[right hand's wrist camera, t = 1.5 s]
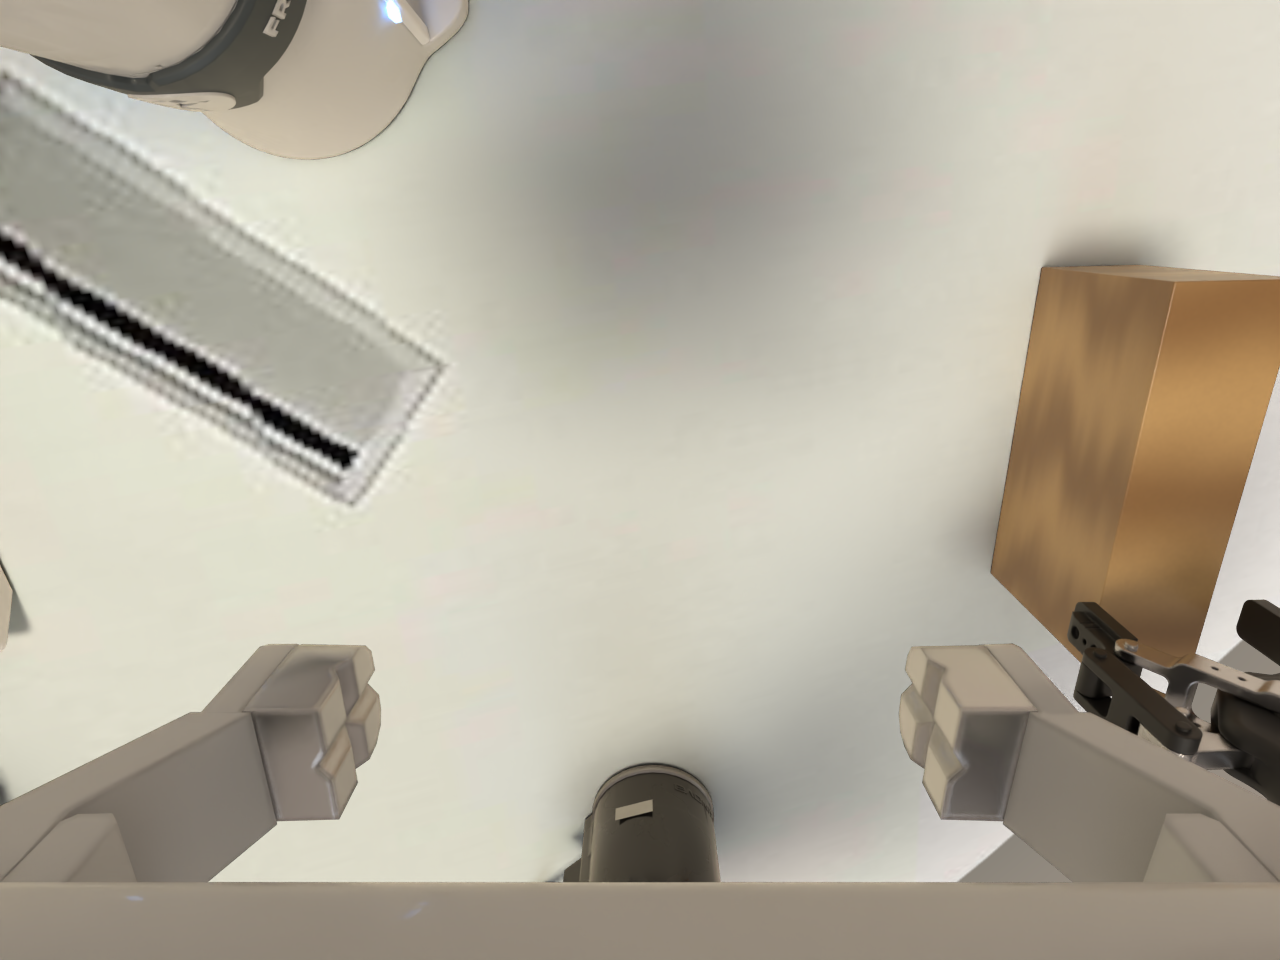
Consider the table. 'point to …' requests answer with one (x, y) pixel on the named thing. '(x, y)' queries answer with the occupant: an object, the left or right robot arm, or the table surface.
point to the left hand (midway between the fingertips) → (1163, 615)
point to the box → (1135, 444)
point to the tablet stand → (4, 609)
